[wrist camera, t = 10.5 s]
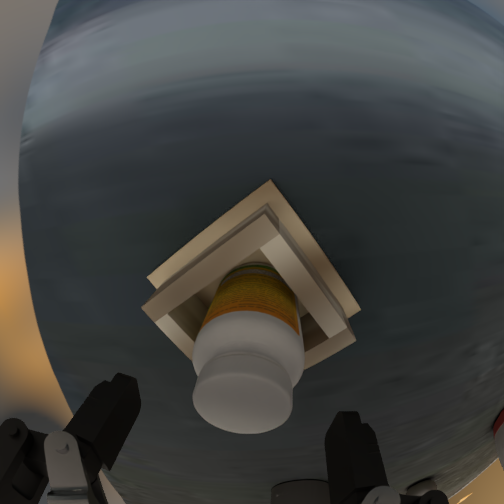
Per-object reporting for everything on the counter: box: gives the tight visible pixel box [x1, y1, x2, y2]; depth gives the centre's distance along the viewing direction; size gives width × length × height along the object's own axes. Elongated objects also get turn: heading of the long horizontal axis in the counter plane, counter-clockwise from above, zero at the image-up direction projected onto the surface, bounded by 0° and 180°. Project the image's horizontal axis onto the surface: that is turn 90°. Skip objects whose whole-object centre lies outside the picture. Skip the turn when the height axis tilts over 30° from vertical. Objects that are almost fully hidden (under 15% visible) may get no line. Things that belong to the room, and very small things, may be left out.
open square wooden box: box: [141, 179, 361, 370], centre depth 17 cm, size 11×11×5 cm
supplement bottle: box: [192, 263, 305, 434], centre depth 14 cm, size 5×5×10 cm
